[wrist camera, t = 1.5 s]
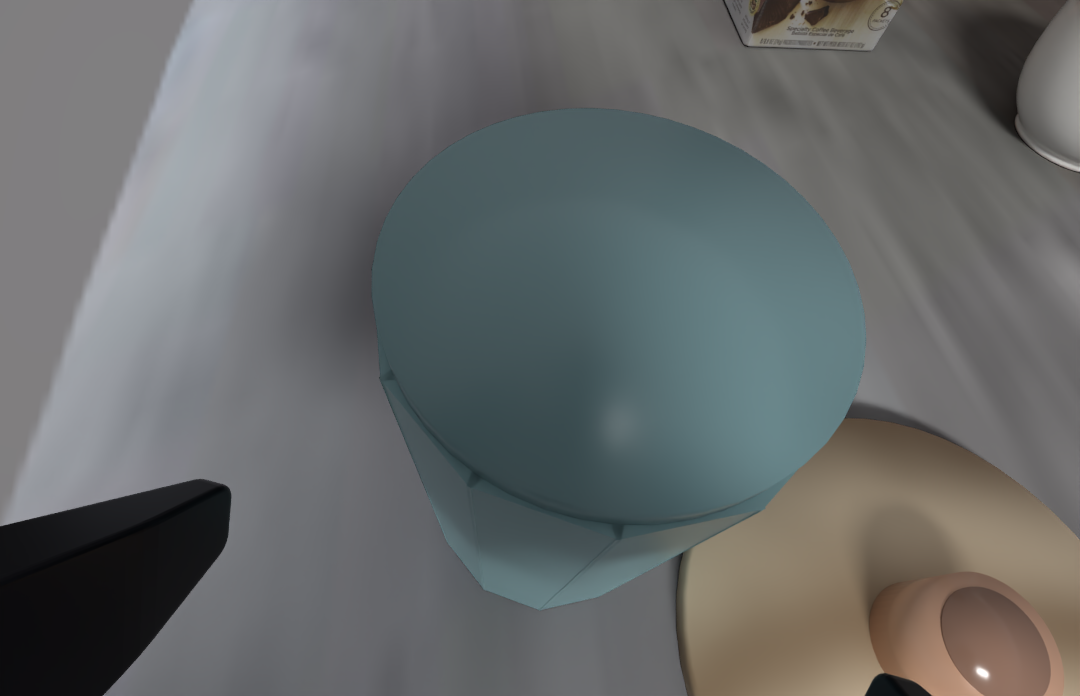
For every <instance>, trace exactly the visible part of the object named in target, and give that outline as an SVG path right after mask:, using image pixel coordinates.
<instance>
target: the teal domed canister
mask: <svg viewBox="0 0 1080 696" xmlns="http://www.w3.org/2000/svg"><path fill="white" fill-rule="evenodd" d="M372 301H373V308H374V314H375V321H376V326H377V337H378V351H379V365H380V377H379V379H380V381H381V384H382V386H383V389H384V391H385V393H386V396H387V398H388V401H389V403H390V405H391V408H392V410H393V413H394V415H395V417H396V420H397V422H398V425H399V427H400V430H401V432H402V434H403V437H404V439H405V442H406V444H407V446H408V449H409V451H410V454H411V456H412V459H413V461H414V463H415V466H416V468H417V471H418V473H419V475H420V478H421V480H422V483H423V485H424V487H425V490H426V492H427V495H428V497H429V500H430V502H431V504H432V507H433V509H434V512H435V514H436V516H437V519H438V521H439V524H440V526H441V529H442V531H443V533H444V536H445V538H446V541H447V543H448V544H449V545H450V546H451V548H452V549H453V550H454V552H455V553H456V554H457V555H458V557H459V558H460V559H461V561H462V562H463V563H464V565H465V566H466V567H467V568H468V570H469V571H470V572H471V574H472V575H473V576H474V578H475V579H476V580H477V581H478V583H479V584H480V585H481V587H482V588H483V589H484V590H486V591H489V592H492V593H495V594H497V595H500V596H503V597H505V598H508V599H511V600H513V601H516V602H519V603H521V604H524V605H527V606H529V607H532V608H535V609H538V610H540V611H541V610H543V609H548V608H552V607H557V606H561V605H565V604H570V603H574V602H578V601H583V600H587V599H592V598H597V597H599V596H601V595H603V594H605V593H607V592H609V591H611V590H613V589H614V588H616V587H618V586H620V585H622V584H624V583H626V582H628V581H630V580H632V579H633V578H635V577H637V576H639V575H641V574H643V573H645V572H647V571H649V570H651V569H652V568H654V567H656V566H658V565H660V564H662V563H664V562H666V561H668V560H670V559H671V558H673V557H675V556H677V555H679V554H681V553H683V552H685V551H687V550H689V549H691V548H692V547H694V546H696V545H698V544H700V543H702V542H704V541H706V540H708V539H710V538H711V537H713V536H715V535H717V534H719V533H721V532H723V531H725V530H727V529H729V528H730V527H732V526H734V525H736V524H738V523H740V522H742V521H744V520H746V519H748V518H749V517H751V516H753V515H755V514H757V513H759V512H761V511H762V510H764V509H766V508H765V507H766V506H767V504H768V503H769V502H770V501H771V500H772V499H773V498H774V496H775V495H776V494H777V493H778V492H779V491H780V490H781V488H782V487H783V486H784V485H785V484H786V483H787V482H788V480H789V479H790V478H791V477H792V476H793V475H794V474H795V472H796V471H797V470H798V469H799V468H800V467H802V466H803V465H804V464H805V463H806V462H808V461H809V460H810V459H811V458H812V457H813V456H814V455H815V454H816V453H817V452H818V451H819V450H820V449H821V448H822V447H823V446H824V445H825V444H826V443H827V442H828V441H829V439H830V438H831V436H832V435H833V434H834V432H835V431H836V429H837V428H838V427H839V425H840V424H841V423H842V421H843V420H844V418H845V416H846V414H847V412H848V410H849V408H850V406H851V403H852V401H853V399H854V397H855V395H856V393H857V389H858V386H859V382H860V378H861V375H862V371H863V367H864V358H865V347H866V329H865V315H864V309H863V305H862V300H861V296H860V292H859V287H858V285H857V282H856V279H855V277H854V274H853V271H852V269H851V266H850V264H849V261H848V260H847V258H846V256H845V254H844V252H843V250H842V248H841V247H840V245H839V243H838V241H837V239H836V238H835V236H834V235H833V233H832V232H831V231H830V229H829V228H828V226H827V225H826V223H825V222H824V221H823V219H822V218H821V217H820V215H819V214H818V213H817V212H816V211H815V210H814V209H813V207H812V206H811V205H810V204H809V203H808V202H807V201H806V199H805V198H804V197H803V196H802V195H800V194H799V193H798V192H797V191H796V190H795V189H794V188H793V187H792V186H791V185H790V184H789V183H788V182H787V181H785V180H784V179H783V178H782V177H780V176H779V175H778V174H776V173H775V172H774V171H773V170H771V169H770V168H769V167H767V166H766V165H765V164H763V163H762V162H760V161H759V160H757V159H756V158H754V157H752V156H751V155H749V154H748V153H746V152H744V151H743V150H741V149H739V148H737V147H735V146H734V145H732V144H730V143H728V142H726V141H724V140H722V139H720V138H718V137H716V136H713V135H711V134H708V133H706V132H704V131H701V130H699V129H696V128H694V127H691V126H688V125H685V124H682V123H678V122H675V121H672V120H669V119H665V118H661V117H656V116H652V115H648V114H643V113H637V112H630V111H623V110H614V109H598V108H575V109H559V110H551V111H542V112H537V113H532V114H527V115H522V116H518V117H514V118H511V119H508V120H505V121H501V122H498V123H495V124H492V125H490V126H488V127H485V128H483V129H481V130H478V131H476V132H474V133H471V134H469V135H468V136H466V137H464V138H463V139H461V140H459V141H457V142H456V143H454V144H452V145H450V146H449V147H447V148H446V149H445V150H443V151H442V152H441V153H439V154H438V155H437V156H435V157H434V158H433V159H431V160H430V161H429V162H428V163H427V164H426V165H425V166H424V167H423V168H422V169H421V170H420V171H419V172H418V173H417V174H416V175H415V176H414V177H413V178H412V179H411V180H410V181H409V183H408V184H407V185H406V187H405V188H404V189H403V191H402V192H401V193H400V194H399V196H398V197H397V199H396V201H395V202H394V204H393V206H392V208H391V210H390V211H389V213H388V215H387V217H386V219H385V221H384V224H383V227H382V230H381V233H380V235H379V238H378V241H377V244H376V250H375V255H374V261H373V266H372Z"/></svg>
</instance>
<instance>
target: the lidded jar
mask: <svg viewBox="0 0 1080 696" xmlns="http://www.w3.org/2000/svg"><path fill="white" fill-rule="evenodd" d="M1016 101H1017V109H1018V113H1017V115H1016V117H1015V127H1016V130H1017V132H1018V134H1019V136H1020V137H1021V138H1022V139H1023V141H1024V142H1025V143H1026V144H1027V145H1028V146H1029V147H1030V148H1031V149H1033V150H1034V151H1035V152H1036V153H1038V154H1039V155H1041V156H1042V157H1044V158H1046V159H1047V160H1049V161H1051V162H1053V163H1055V164H1057V165H1059V166H1061V167H1064V168H1066V169H1069V170H1072V171H1076V172H1080V0H1068V1H1067V2H1066V3H1065V4H1064V6H1063V7H1062V8H1061V9H1060V10H1059V12H1058V13H1057V14H1056V15H1055V16H1054V18H1053V19H1052V20H1051V22H1050V23H1049V25H1048V26H1047V27H1046V29H1045V30H1044V31H1043V33H1042V34H1041V36H1040V37H1039V39H1038V40H1037V42H1036V43H1035V45H1034V47H1033V48H1032V50H1031V52H1030V53H1029V55H1028V57H1027V58H1026V61H1025V63H1024V66H1023V68H1022V70H1021V73H1020V77H1019V82H1018V86H1017V95H1016Z"/></svg>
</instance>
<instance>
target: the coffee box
mask: <svg viewBox="0 0 1080 696" xmlns="http://www.w3.org/2000/svg"><path fill="white" fill-rule="evenodd" d="M903 1H904V0H725V3H726V5H727V7H728V9H729V12H730V14H731V16H732V19H733V21H734V23H735V26H736V28H737V30H738V32H739V35H740V37H741V39H742V42H743V44H744V45H747V46H751V47H780V48H805V49H831V50H857V51H871V50H873V48H874V47H875V45H876V44H877V42H878V40H879V39H880V37H881V36H882V34H883V33H884V31H885V29H886V28H887V26H888V25H889V23H890V21H891V20H892V18H893V17H894V15H895V14H896V12H897V10H898V9H899V7H900V6H901V4H902V2H903Z"/></svg>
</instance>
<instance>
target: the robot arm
mask: <svg viewBox="0 0 1080 696" xmlns="http://www.w3.org/2000/svg"><path fill="white" fill-rule="evenodd" d="M230 508H231V491H230V489H229V488H228V487H227V486H226V485H223V484H219V483H216V482H212V481H209V480H205V479H196V480H191V481H187V482H183V483H179V484H175V485H171V486H166V487H162V488H158V489H154V490H150V491H146V492H141V493H137V494H133V495H129V496H125V497H121V498H116V499H112V500H108V501H104V502H100V503H96V504H91V505H87V506H83V507H79V508H75V509H71V510H66V511H62V512H58V513H54V514H50V515H46V516H41V517H37V518H33V519H29V520H25V521H21V522H16V523H12V524H8V525H4V526H0V696H103V695H104V694H105V693H106V692H107V691H108V690H109V689H110V687H111V686H112V685H113V684H114V683H115V682H116V681H117V680H118V679H119V678H120V677H121V676H122V675H123V674H124V672H125V671H126V670H127V669H128V668H129V667H130V666H131V665H132V664H133V662H134V661H135V660H136V659H137V658H138V657H139V656H140V655H141V653H142V652H143V651H144V650H145V649H146V647H147V646H148V645H149V644H150V643H151V641H152V640H153V639H154V638H155V637H156V635H157V634H158V633H159V631H160V630H161V629H162V628H163V626H164V625H165V624H166V623H167V621H168V620H169V619H170V617H171V616H172V615H173V614H174V612H175V611H176V610H177V609H178V607H179V606H180V605H181V603H182V602H183V601H184V600H185V598H186V597H187V596H188V595H189V593H190V592H191V591H192V589H193V588H194V587H195V586H196V584H197V583H198V582H199V581H200V579H201V578H202V577H203V575H204V574H205V573H206V572H207V570H208V569H209V568H210V567H211V565H212V564H213V563H214V561H215V560H216V559H217V558H218V556H219V555H220V554H221V552H222V550H223V549H224V547H225V544H226V542H227V538H228V531H229V520H230ZM865 696H932V695H931V694H930V693H929V692H927V691H926V690H925V689H924V688H923V687H921V686H920V685H919V684H918V683H916V682H914V681H912V680H909V679H906V678H902V677H899V676H895V675H891V674H888V673H880V674H878V675H877V676H875V677H874V679H873V680H872V682H871V684H870V686H869V688H868V690H867V692H866V694H865Z"/></svg>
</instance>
